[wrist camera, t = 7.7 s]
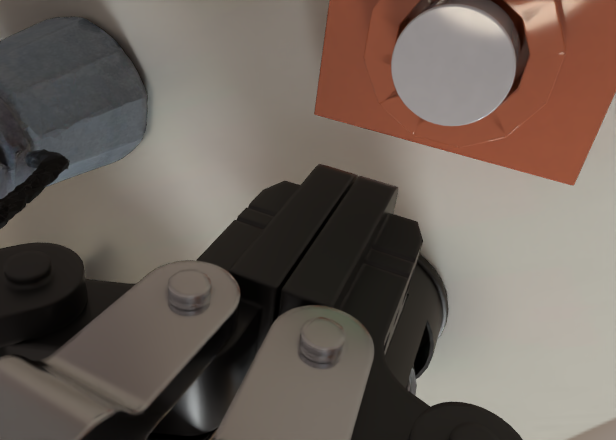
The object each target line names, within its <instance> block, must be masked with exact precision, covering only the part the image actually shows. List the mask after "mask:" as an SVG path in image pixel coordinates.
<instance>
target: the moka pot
mask: <svg viewBox="0 0 616 440" xmlns="http://www.w3.org/2000/svg"><path fill="white" fill-rule="evenodd" d="M147 100H148V98H147V92H146V90H145V88H144V85H143V83H142V80H141V79H140V77H139V74H138V72H137V70H136V68H135V67H134V65H133V63H132V61H131V60H130V59H129V58H128V56H127V55H126V54H125V53H124V51H123V50H122V48H121V47H120V46H119V44H118V43H117V42H116V41H115V40H114V39H113V38H112V37H111V36H110V35H108V34H107V33H106V32H104V31H103V30H102V29H100V28H99V27H98V26H96V25H95V24H93V23H91V22H90V21H89V20H87V19H84V18H80V17H63V18H60V17H57V18H52V19H47V20H44V21H42V22H40V23H38V24H36V25H34V26H31V27H29V28H27V29H25V30H23V31H20V32H18V33H16V34H13V35H11V36H9V37H7V38H5V39H3V40H1V41H0V229H1V228H2V227H4V226H5V225H6V224H7V222H8V220H10V219H12V218H13V217H14V215H15V214H17V213H18V212H20V211H21V210H22V209H23V208H24V207H25V206H26V203H30V202H31V201H32V200H33V199H34V198H36V197H37V196H38V195H39V194H40V193H41V192H42V190H43V189H44V188H45V187H46V186H49V185H52V184H55V183H57V182H60V181H63V180H65V179H68V178H71V177H74V176H76V175H79V174H82V173H85V172H88V171H91V170H93V169H96V168H99V167H102V166H105V165H108V164H111V163H113V162H116V161H118V160H120V159H122V158H123V157H125V156H126V155H127V154H129V153H130V152H131V151H132V150H133V149H134V148H135V147H136V146H137V145H138V144H139V143H140V141H141V140H142V139H143V135H144V133H145V129H146V125H147V124H146V120H147Z"/></svg>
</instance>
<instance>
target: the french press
mask: <svg viewBox="0 0 616 440" xmlns="http://www.w3.org/2000/svg"><path fill="white" fill-rule="evenodd" d="M447 315H448V301H447V295H446V292H445V289H444V286H443V283H442V281H441V280H440V278H439V276H438V275H437V273H436V271H435V270H434V269H433V267H432V266H431V265H430V264H429V263H428V262H427V261H426V260H425V258H423V257H422V256H421V255H420V254H419V256H418V259H417V263H416V266H415V269H414V273H413V276H412V279H411V283H410V286H409V289H408V293H407V296H406V300H405V303H404V306H403V309H402V311H401V314H400V317H399V319H398V322H397V325H396V327H395V330H394V333H393V335H392V338H391V340H390V343H389V346H388V348H387V351H386V354H385V358H386V361H387V364H388V366H389V368H390V370H391V372H392V373H393V374H394V376H395V377H396V379H397V380H398V381H399V382H400V383H401V384H402V385H403V386H404V387H405V388H406V389H407V390H408V391H410V392H411V393H412V394H413V395H415V394H416V386H417V385H416V379H417V378H418V377H420V376H421V375H422V373H423V372H424V371H425V370H426V369H427V368H428V365H429V363H430V361H431V359H432V356H433V353H434V349H435V346H436V342H437V339H438V338H439V337H440V336H441V334H442V332H443V329H444V327H445V325H446V322H447Z"/></svg>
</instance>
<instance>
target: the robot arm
mask: <svg viewBox="0 0 616 440" xmlns="http://www.w3.org/2000/svg"><path fill="white" fill-rule="evenodd" d="M397 195H398V187H396V186H393V185H389V184H386V183H383V182H379V181H376V180H373V179H369V178H366V177H363V176H359V177H358V175H356V174H352V173H349V172H346V171H342V170H339V169H336V168H332V167H329V166H326V165H322V164H319V165H317V166H316V167H315V169H314V170H313V171H312V172H311V173H310V175H309V176H308V177H307V178H306V179H305V180H304V182H303V183H302V184H301V185H298V184H294V183H291V182H288V181H283V182H281V183H278V184H276V185H274V186H271V187H269V188H266V189H264V190H262V192H261V193H260V194H259V195H258V196H257V197H256V198H255V199H254V200H253V201H252V202H251V203H250V204H249V207H248V208H247V207H246V208H245V210H244V211H243V212H242V213H241V214H240V215H239V216H238V218H237V220H234V221H233V222H232V223H231V224H230V225H229V226H228V227H227V229H226V230H225V231H224V232H223V233H222V234H221V235H220V236H219V237H218V238H217V239H216V240H215V241H214V242H213V243H212V244H211V245H210V247H209V248H208V249H207V250H206V251H205V252H204V253H203V254H202V255H201V256H200V257H199V258H198V259H197V260H196V261H194V260H185V261H177V262H173V263H168V264H166V265H163V266H160V267H158V268H157V269H155V270H153V271H152V272H150V273H149V274H148V275H146V276H145V277H144V278H143V279H142V280H140V281H139V282H138V283H137V284H125V283H116V282H107V281H98V280H89V279H85V272H84V265H83V261H82V260H81V258H80V257H79V256H78V255H77V254H76V253H75V252H74V251H72V250H71V249H69V248H67V247H64V246H61V245H57V244H52V243H28V244H21V245H16V246H11V247H6V248H1V249H0V440H523V439H522V438H521V437H520V435H519V434H518V433H517V432H516V431H515V430H514V429H513V428H512V427H511V426H510V425H509V424H508V423H506V422H505V421H504V420H503V419H502V418H500V417H498V416H497V415H495V414H494V413H492V412H490V411H488V410H486V409H484V408H482V407H479V406H476V405H473V404H468V403H463V402H444V403H440V404H436V405H433V406H432V407H430V406H429V405H427V404H426V403H425V402H423V401H422V400H420V399H419V398H418V397H416V396H415V395H413V394H412V393H411V392H410V391H408V390H407V389H406V388H405V387H404V386H403V385H402V384H401V383H400V382H399V381H398V380H397V379H396V377H395V376H394V374H393V373H392V372H391V370H390V368H389V366H388V364H387V361H386V358H385V354H386V351H387V348H388V346H389V343H390V340H391V338H392V335H393V333H394V330H395V327H396V325H397V322H398V319H399V317H400V314H401V311H402V309H403V306H404V303H405V300H406V296H407V293H408V289H409V286H410V283H411V279H412V276H413V273H414V269H415V266H416V263H417V259H418V256H419V253H420V249H421V246H422V243H423V240H422V236H421V233H420V229H419V226H418V222H416V221H413V220H410V219H407V218H403V217H400V216H397V215H394V214H393V212H394V208H395V204H396V200H397Z"/></svg>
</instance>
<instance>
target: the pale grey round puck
mask: <svg viewBox="0 0 616 440" xmlns="http://www.w3.org/2000/svg"><path fill="white" fill-rule="evenodd" d="M519 58H520V41H519V36H518V33H517V29H516V27H515V25H514V23H513V21H512V20H511V18H510V17H509V15H508V14H507V13H506V12H505V11H504V10H503V9H502V8H501V7H500V6H499V5H497V4H496V3H494V2H493V1H491V0H436V1H434V2H433V3H431V4H429V5H428V6H427V7H425V8H424V9H423V10H422V11H421V12H420V13H419V14H418V15H417V16H416V17H415V18H414V19H413V20H412V21H411V22H410V23H409V24H408V25H407V26H406V27H405V28H404V29H403V31H402V32H401V34H400V36H399V37H398V39H397V41H396V44H395V46H394V50H393V53H392V60H391V73H392V79H393V83H394V86H395V89H396V91H397V93H398V95H399V97H400V98H401V100H402V101H403V103H404V104H405V105H406V106H407V107H408V108H409V109H410V110H411V111H412V112H413V113H415V114H416V115H417V116H419V117H420V118H422V119H424V120H426V121H428V122H431V123H434V124H438V125H443V126H461V125H467V124H470V123H474V122H476V121H479V120H481V119H483V118H484V117H486V116H488V115H489V114H491V113H492V112H493V111H494V110H496V109H497V108H498V107H499V106H500V105H501V103H502V102H503V101H504V99H505V98H506V96H507V95H508V93H509V91H510V89H511V87H512V84H513V81H514V78H515V74H516V70H517V67H518V63H519Z"/></svg>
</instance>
